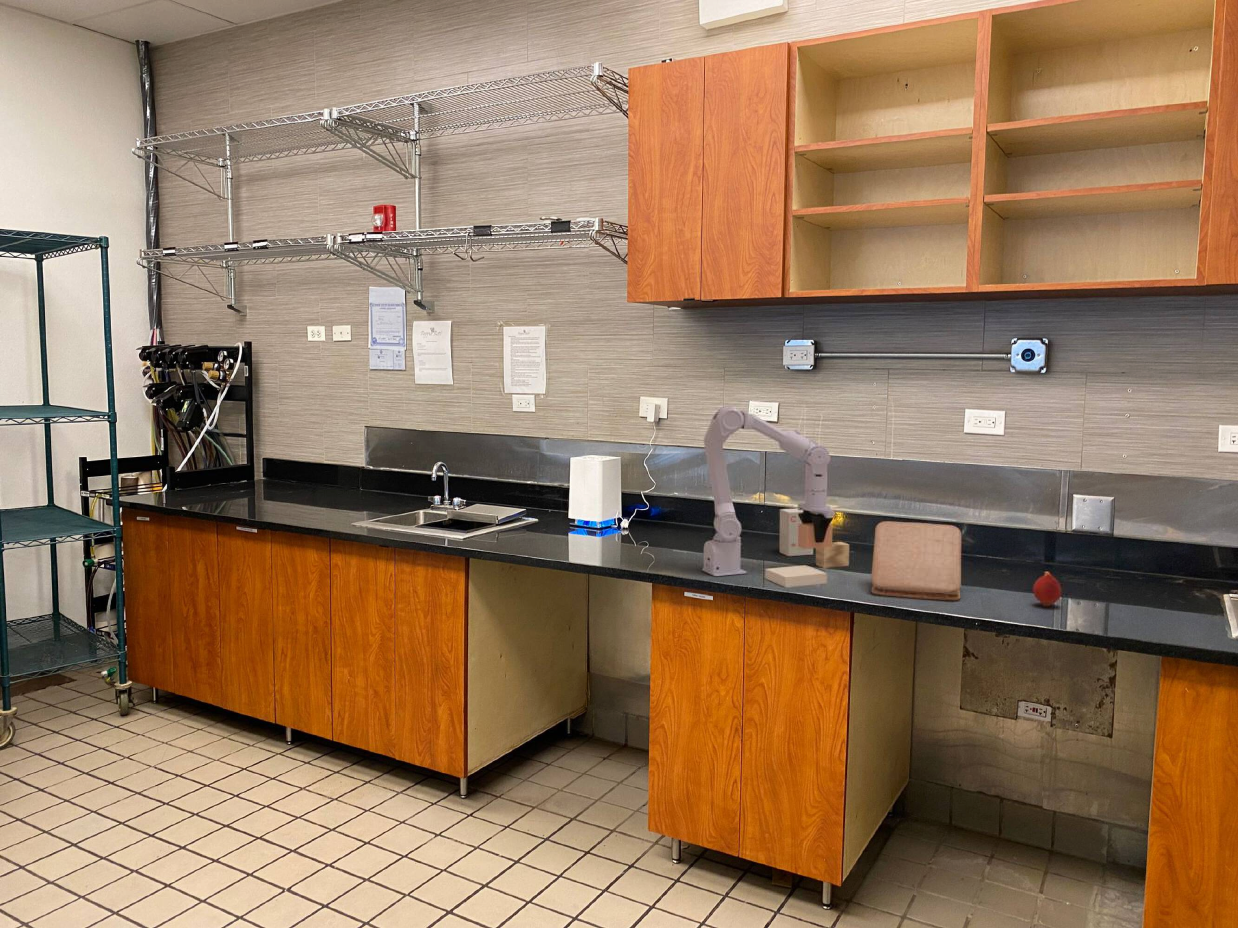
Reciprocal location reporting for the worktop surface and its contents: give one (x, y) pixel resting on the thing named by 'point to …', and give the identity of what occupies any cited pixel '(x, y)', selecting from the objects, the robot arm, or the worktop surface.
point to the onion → (1047, 589)
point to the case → (917, 561)
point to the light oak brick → (833, 555)
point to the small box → (791, 533)
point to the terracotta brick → (812, 537)
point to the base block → (796, 576)
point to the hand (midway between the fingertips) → (814, 540)
